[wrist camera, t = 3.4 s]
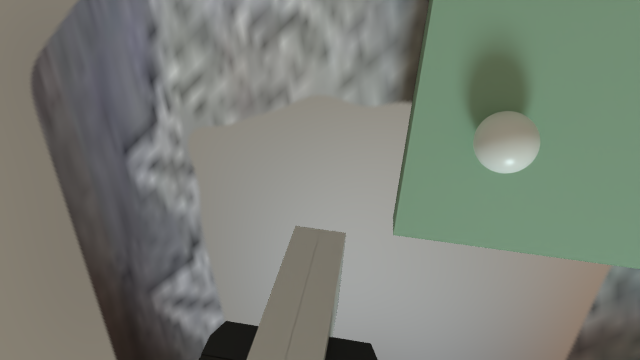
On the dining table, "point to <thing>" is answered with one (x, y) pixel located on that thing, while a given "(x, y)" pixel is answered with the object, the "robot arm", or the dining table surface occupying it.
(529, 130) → the ball
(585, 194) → the green
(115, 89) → the dining table surface
